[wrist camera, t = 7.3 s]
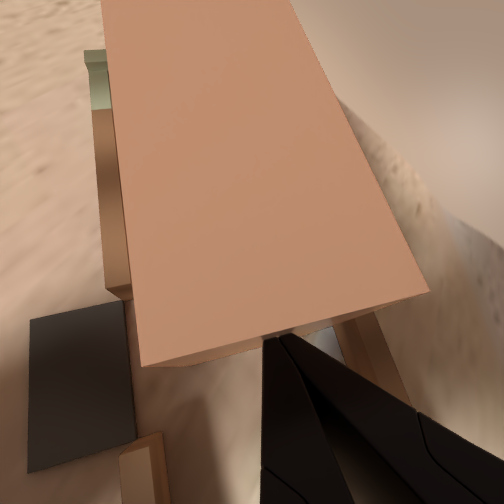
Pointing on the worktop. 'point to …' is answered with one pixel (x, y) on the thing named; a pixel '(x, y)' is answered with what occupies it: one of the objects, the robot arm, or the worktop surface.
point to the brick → (241, 182)
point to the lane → (117, 351)
